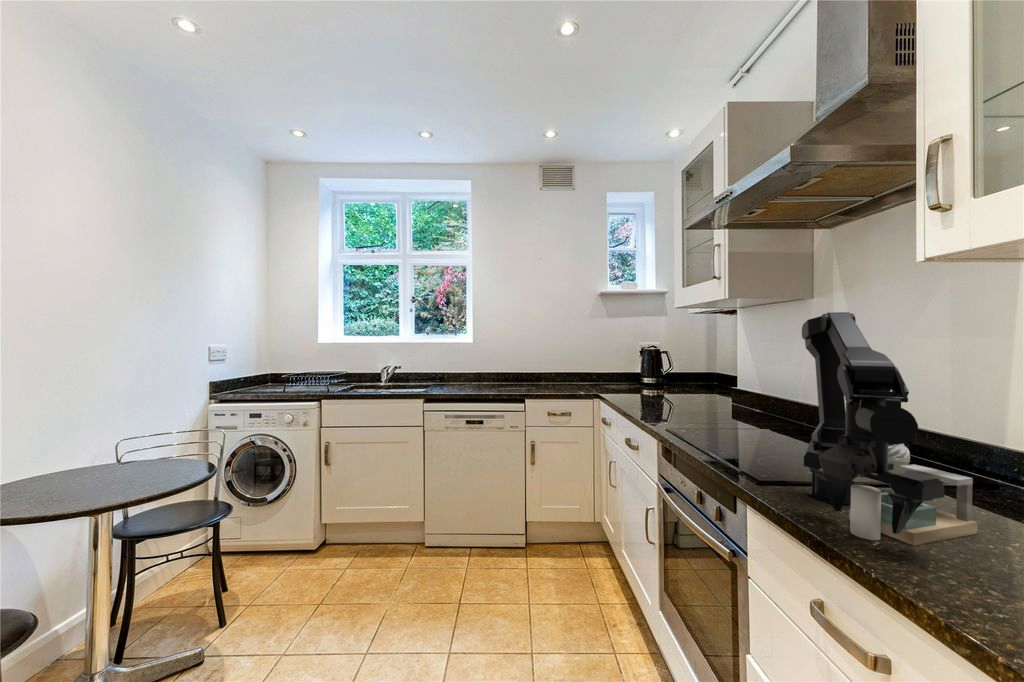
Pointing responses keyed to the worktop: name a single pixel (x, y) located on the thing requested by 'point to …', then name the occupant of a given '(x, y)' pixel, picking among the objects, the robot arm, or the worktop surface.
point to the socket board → (932, 512)
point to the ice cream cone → (898, 457)
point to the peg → (865, 512)
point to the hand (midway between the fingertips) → (865, 521)
